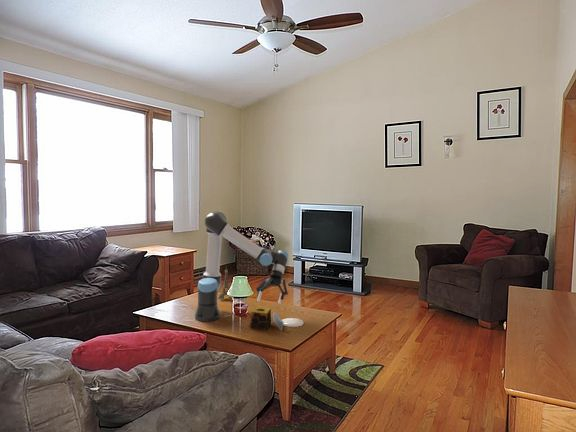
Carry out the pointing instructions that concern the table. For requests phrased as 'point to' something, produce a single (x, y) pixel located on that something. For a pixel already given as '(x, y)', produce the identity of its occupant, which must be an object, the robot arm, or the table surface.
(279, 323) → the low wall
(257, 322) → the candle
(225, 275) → the eiffel tower
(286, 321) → the coaster
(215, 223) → the robot arm
